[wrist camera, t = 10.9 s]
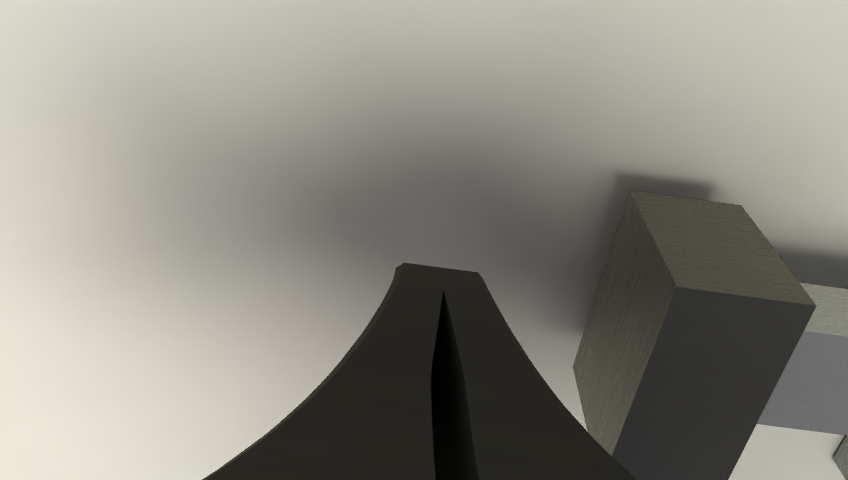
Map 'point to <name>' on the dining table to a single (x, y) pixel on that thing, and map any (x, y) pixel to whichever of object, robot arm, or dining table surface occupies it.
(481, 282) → the robot arm
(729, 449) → the slide jaw
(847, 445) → the vise
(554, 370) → the dining table surface
